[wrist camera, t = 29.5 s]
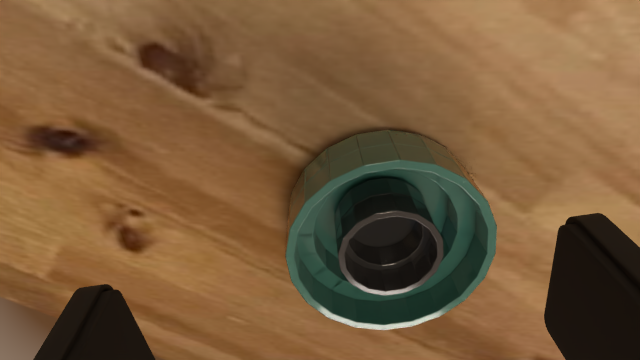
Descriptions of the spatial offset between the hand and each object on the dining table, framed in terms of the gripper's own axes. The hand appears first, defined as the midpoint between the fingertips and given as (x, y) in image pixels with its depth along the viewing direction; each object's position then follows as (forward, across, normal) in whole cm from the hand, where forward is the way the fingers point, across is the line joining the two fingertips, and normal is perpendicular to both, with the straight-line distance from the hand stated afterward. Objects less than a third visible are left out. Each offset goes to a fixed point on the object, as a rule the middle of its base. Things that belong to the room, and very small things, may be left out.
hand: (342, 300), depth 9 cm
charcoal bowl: (+21, -3, +13) cm, 25 cm away
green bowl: (+21, -3, +13) cm, 25 cm away
